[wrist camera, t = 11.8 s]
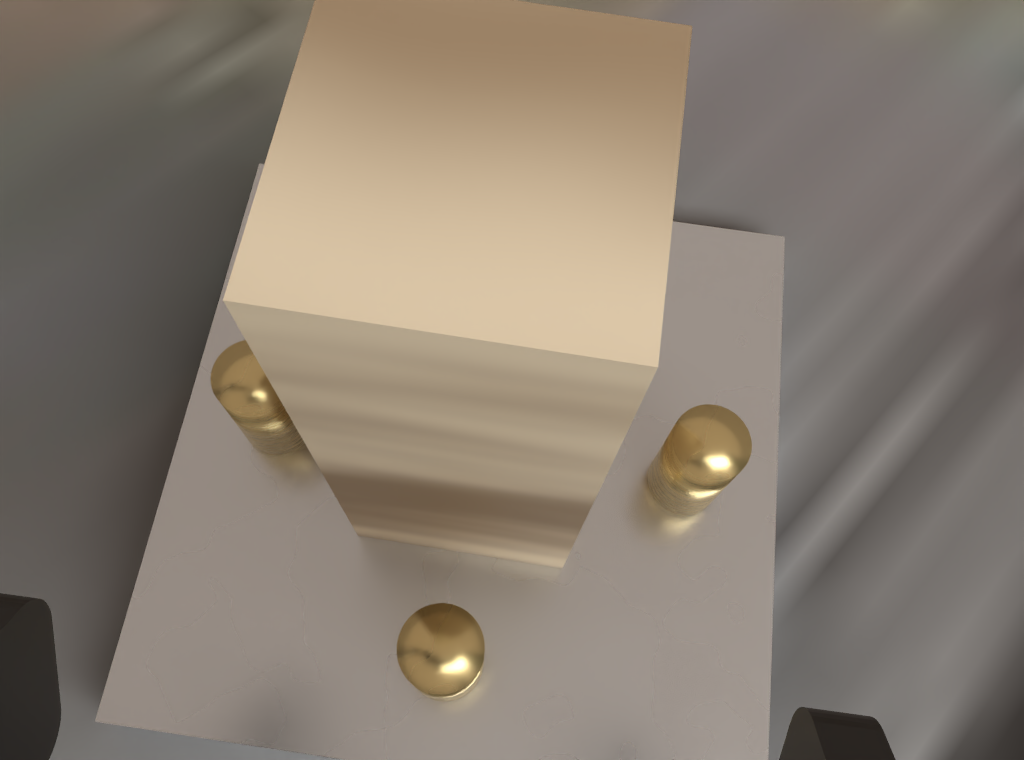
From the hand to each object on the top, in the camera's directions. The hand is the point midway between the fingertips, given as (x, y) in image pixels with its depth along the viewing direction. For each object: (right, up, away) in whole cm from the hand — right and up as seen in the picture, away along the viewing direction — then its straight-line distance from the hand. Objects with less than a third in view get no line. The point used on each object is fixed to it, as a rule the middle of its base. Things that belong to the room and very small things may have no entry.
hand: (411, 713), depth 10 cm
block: (0, +2, +8) cm, 9 cm away
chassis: (0, +2, +9) cm, 10 cm away
